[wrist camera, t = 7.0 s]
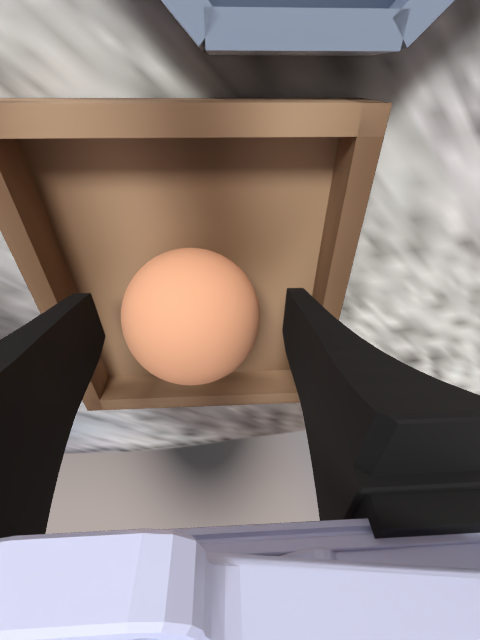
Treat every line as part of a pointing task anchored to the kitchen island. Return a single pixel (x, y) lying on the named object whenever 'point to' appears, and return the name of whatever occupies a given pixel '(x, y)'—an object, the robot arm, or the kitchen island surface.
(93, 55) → the kitchen island surface
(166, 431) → the kitchen island surface
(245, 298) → the ball
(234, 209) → the tray
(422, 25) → the bowl
